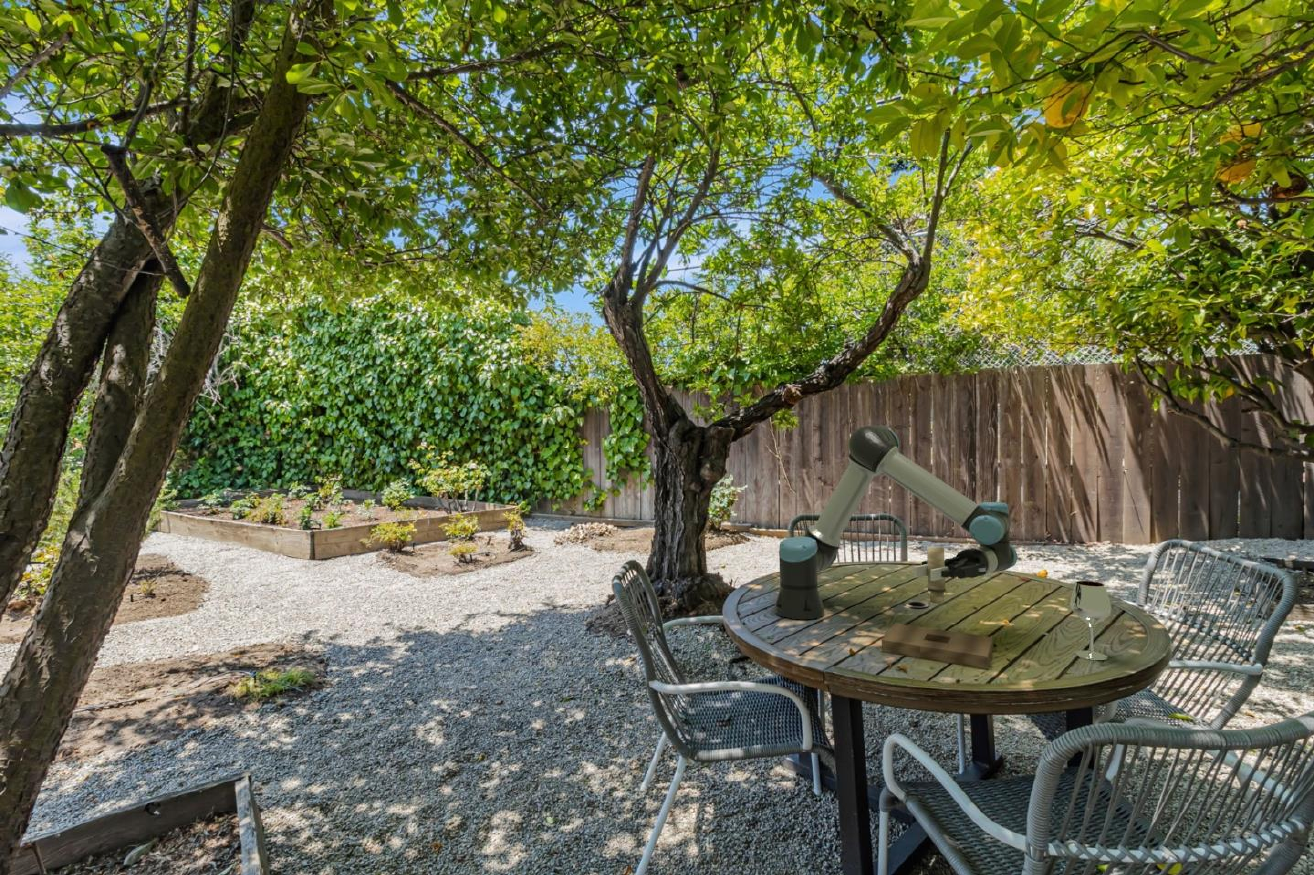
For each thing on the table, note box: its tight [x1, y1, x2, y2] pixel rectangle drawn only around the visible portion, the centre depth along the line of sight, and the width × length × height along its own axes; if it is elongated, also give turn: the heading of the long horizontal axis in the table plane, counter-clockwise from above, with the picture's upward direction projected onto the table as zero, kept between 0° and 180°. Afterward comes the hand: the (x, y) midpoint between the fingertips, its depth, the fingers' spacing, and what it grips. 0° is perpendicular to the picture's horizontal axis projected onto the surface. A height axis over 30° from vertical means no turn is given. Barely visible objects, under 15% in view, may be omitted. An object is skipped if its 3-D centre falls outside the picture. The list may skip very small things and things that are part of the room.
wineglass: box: [1070, 580, 1112, 661], centre depth 146 cm, size 8×8×18 cm
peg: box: [926, 545, 947, 605], centre depth 153 cm, size 4×4×14 cm
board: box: [881, 622, 994, 670], centre depth 153 cm, size 24×16×3 cm, turn 57°
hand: (923, 573), depth 150 cm, fingers closed on peg, 4 cm apart
